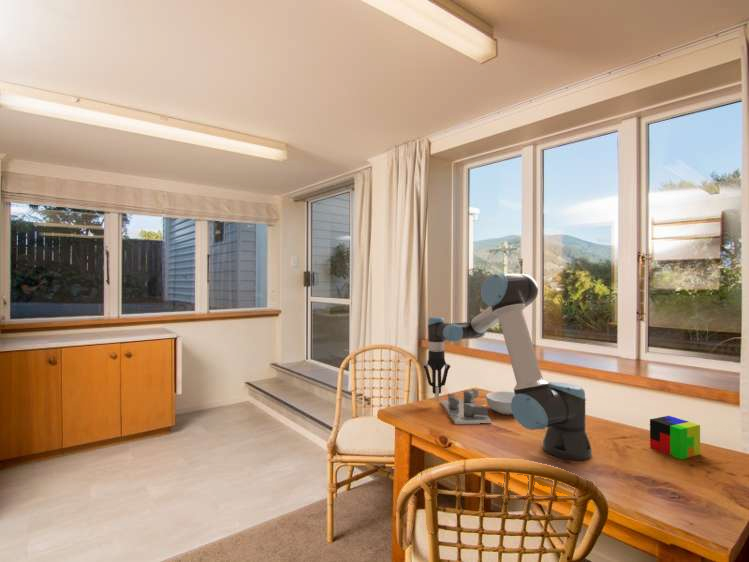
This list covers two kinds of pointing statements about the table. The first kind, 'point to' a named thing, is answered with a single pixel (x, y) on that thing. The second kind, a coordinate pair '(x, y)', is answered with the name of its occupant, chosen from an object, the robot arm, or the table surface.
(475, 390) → the knob
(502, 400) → the cereal bowl
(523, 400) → the robot arm
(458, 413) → the level plate
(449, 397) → the knob
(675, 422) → the puzzle toy
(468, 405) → the knob
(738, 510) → the table surface
